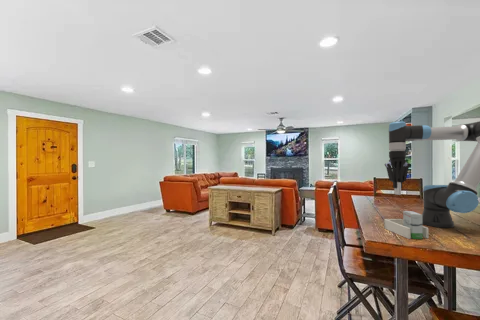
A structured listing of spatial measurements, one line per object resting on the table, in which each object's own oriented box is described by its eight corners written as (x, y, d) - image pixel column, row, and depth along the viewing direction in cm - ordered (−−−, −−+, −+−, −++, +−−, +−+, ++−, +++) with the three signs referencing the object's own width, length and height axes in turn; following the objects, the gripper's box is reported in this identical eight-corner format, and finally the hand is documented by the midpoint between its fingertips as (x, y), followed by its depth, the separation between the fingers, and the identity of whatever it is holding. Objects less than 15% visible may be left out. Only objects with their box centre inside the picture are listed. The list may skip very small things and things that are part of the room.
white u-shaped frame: (401, 227, 129) (401, 218, 129) (428, 238, 112) (428, 227, 112) (384, 228, 129) (384, 219, 129) (408, 238, 111) (408, 228, 111)
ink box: (423, 239, 110) (423, 214, 110) (411, 238, 111) (411, 214, 111) (413, 233, 119) (413, 210, 119) (402, 233, 120) (402, 210, 120)
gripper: (403, 150, 129) (404, 193, 129) (380, 151, 128) (381, 193, 128) (414, 150, 121) (415, 195, 121) (390, 150, 121) (390, 195, 121)
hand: (397, 194), depth 125 cm, fingers closed
